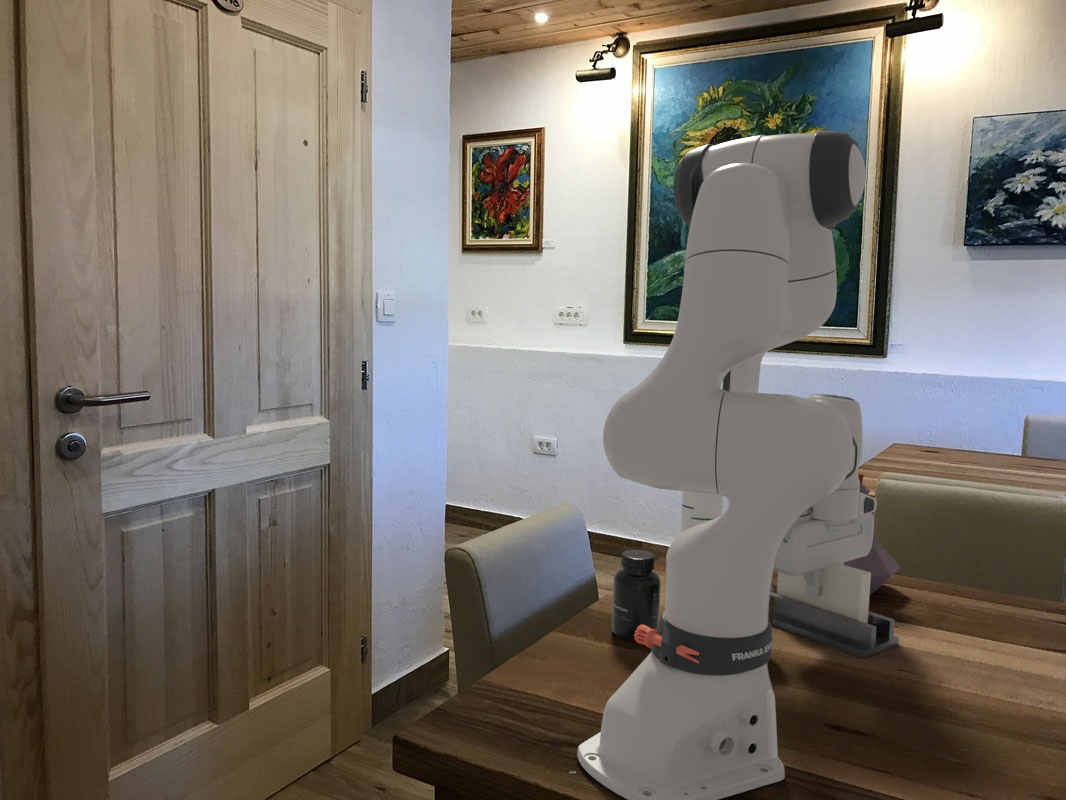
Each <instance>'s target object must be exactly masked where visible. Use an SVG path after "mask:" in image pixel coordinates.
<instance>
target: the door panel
mask: <svg viewBox="0 0 1066 800" xmlns="http://www.w3.org/2000/svg"><path fill="white" fill-rule="evenodd" d="M817 577H818V581H819V584H820V585H823V590H822V595H821V596H819V597H816V598H813V597H810V596H808V595H807V593H806V588H807V584H806V582H805V579H804V577H803V575H798V576H790V575H787V574H783V573H780V572H778V571H777V582H776V583H777V594H779V595H782V596H785V597H788V598H791V599H794V600H797V601H800V602H803V603H806V604H809V605H812V606H815V607H818V608H821V609H824V610H827V611H831V612H834V613H837V614H840V615H843V616H846V617H849V618H852V619H855V620H858V621H861V622H864V623H867V624H868V611H870V609H869V607H870V596H871V595H870V581H871V572H867V571H863V570H860V569H856V568H853V567H849V566H845V565H842V564H835V565H831V566H829V567H826V568H823V569H820V575H819V576H817Z"/></svg>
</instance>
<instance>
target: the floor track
mask: <svg viewBox="0 0 1066 800" xmlns="http://www.w3.org/2000/svg"><path fill="white" fill-rule="evenodd" d="M777 583H778V582H775V583H773V584H772V591H770V593H771V595H772V598H773V597H775V603H776V601H777V604H776V609H775V615H774V621H773V626H772V627H776V628H779V629H782V630H785V631H787V632H790V633H793V634H795V635H798V636H800V637H804V638H806V639H809V640H812V641H814V642H817V643H820V644H823V645H826V646H828V647H831V648H834V649H836V650H839V651H843V653H844V652H845V653H848V654H850V655H853V656H856V657H859V658H861V659H863V660H864V659H867V658H869V657H871V656H874V655H876V654H878V653H881V652H883V651H886V650H887V649H890V648H892V647H895V646H897V645H899V644H900V643H899V641H900V637H899V636H897V635H894V634H895V623H896V621H895V619H894V618H891V617H887V616H885V615H882V614H879V613H875V612H873V611H870V610H869V611H868V624H867V623H864V622H861V621H858V620H855V619H852V618H849V617H846V616H843V615H840V614H837V613H834V612H831V611H827V610H824V609H821V608H818V607H815V606H812V605H809V604H806V603H803V602H800V601H797V600H794V599H791V598H788V597H785V596H782V595H779V594H777Z"/></svg>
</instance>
